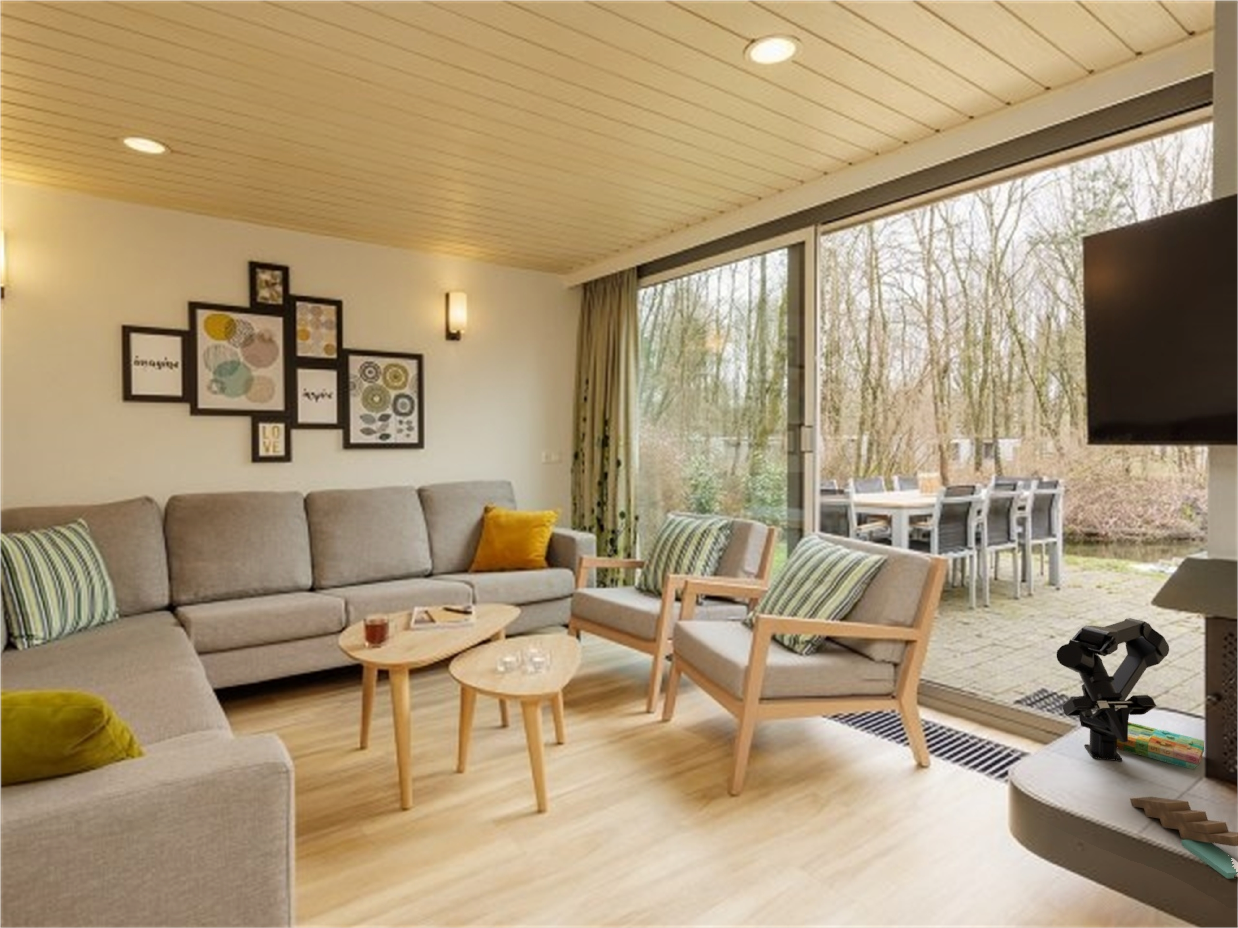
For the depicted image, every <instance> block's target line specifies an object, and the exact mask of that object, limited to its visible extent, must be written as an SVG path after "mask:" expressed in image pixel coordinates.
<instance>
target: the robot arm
mask: <svg viewBox="0 0 1238 928" xmlns="http://www.w3.org/2000/svg"><path fill="white" fill-rule="evenodd" d="M1123 643H1125V649H1126V656H1125V657H1124V659H1123V660H1122V662H1121V663H1120V664H1119V666H1118V667H1117V668H1116V670H1115V671H1114V673H1113V675H1109V673H1108V671H1107V669H1106V668H1105V667H1106V666H1105V665H1104V663H1103V659H1102V658H1101V657H1100V656H1102V657H1106V656H1109V655H1111V654H1113V653H1114V652H1116V651H1117V650H1119V649H1118V648H1119V647H1118V646H1119V645H1121V644H1123ZM1169 653H1170V646H1169V643H1168V642H1167V640H1166V639H1165V637H1164V636H1163V634H1161V633H1159V632H1158V631H1156V630H1155V629H1154V628H1153V627H1152V626H1151V624H1150V623H1148V622H1147V621H1144V620H1141V619H1135V618H1125V619H1124V620H1123V621H1119V622H1115V623H1113V624H1109V625H1106V626H1097V625H1084V626H1083V627H1081V629H1079V630H1078V631H1077V632H1076V634H1075V635H1074V636H1073V637H1072V638H1071V639H1069V642H1068V643H1066V644H1063V645H1061V646H1060V647H1059V648H1058V649H1057V650H1056V659H1057V661H1058V663H1059V664H1060V665H1061V666H1063V667H1064V668H1065V667H1066V668H1067V669H1069V670H1071V671H1073V672H1075V673H1077V674H1079V676H1080V678H1081V680H1082V683H1083V684H1081V690H1082V694H1083V695H1077V696H1070V697H1069V698H1068V699H1067V700H1066V701H1065V702H1064V703H1063V704H1062V710H1063V712H1064V715H1065V716H1066V717H1079V722H1080V726H1081V727H1082V728H1086V729H1089V744H1087V743H1085V744H1084V745H1083V747H1084V748H1085V749H1086V751H1087V752H1088V753H1089V755H1090V756H1091V757H1092V758H1093V759H1097V760H1098V759H1099V760H1100V759H1102V760H1111V761H1119V762H1120V761H1121V762H1122V761H1123V757H1122V756H1121V755H1120V754H1119V752H1118V748H1117V739H1119V740H1120V741H1121V742H1122V743H1126V742H1128V722H1129V717H1130V716H1137V715H1139V716H1141V715H1146V714H1147V713H1148V712H1150V711H1151V710H1153V709H1154V708H1156V707H1157V705H1156V702H1155V700H1154V699H1153V697H1151V696H1149V695H1148V694H1141V695H1140V694H1139V695H1138V694H1136V695H1132V696H1130V697H1129V695H1130V694H1131V692H1132V690H1134V687H1135V686H1136V685H1137V683H1138V682H1139V680H1140V679H1141V677H1142V676H1143V674H1144V672H1145V671H1146V670H1147V669H1148V668H1150V667H1153V666H1158V665H1159V664H1160V663H1161V662H1162V661H1163V660H1164V658H1166V657H1167V656H1168V655H1169ZM1128 697H1129V698H1128Z"/></svg>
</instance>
